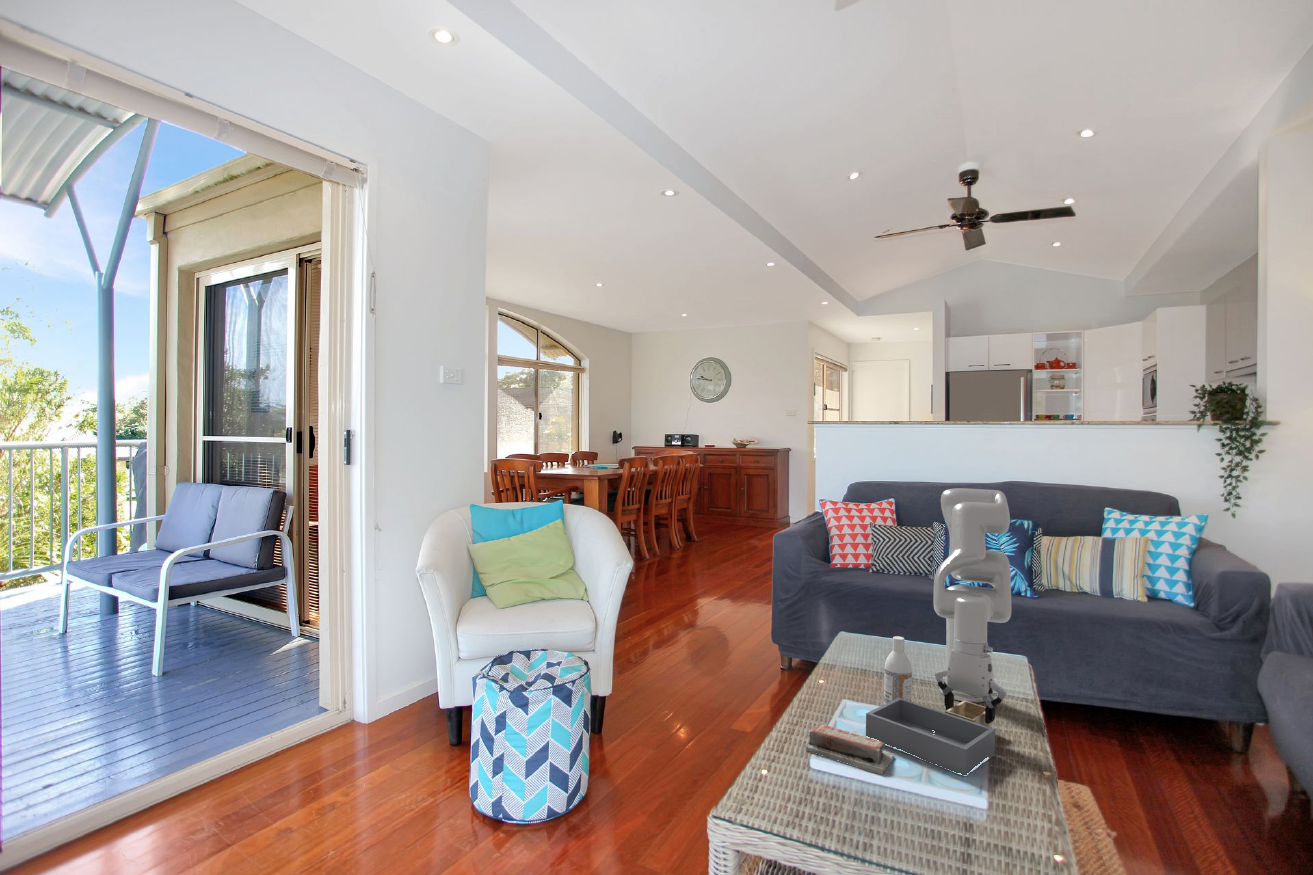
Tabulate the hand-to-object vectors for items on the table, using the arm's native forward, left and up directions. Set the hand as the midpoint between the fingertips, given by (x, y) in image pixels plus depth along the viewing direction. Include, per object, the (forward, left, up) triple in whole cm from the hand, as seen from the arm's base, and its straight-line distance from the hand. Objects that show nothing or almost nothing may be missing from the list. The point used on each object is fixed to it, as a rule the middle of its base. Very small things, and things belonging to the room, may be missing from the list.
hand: (968, 716), depth 162 cm
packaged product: (+33, -13, -5) cm, 36 cm away
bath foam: (+1, -18, -5) cm, 19 cm away
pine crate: (-1, 0, -5) cm, 5 cm away
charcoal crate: (+14, -3, -5) cm, 15 cm away
